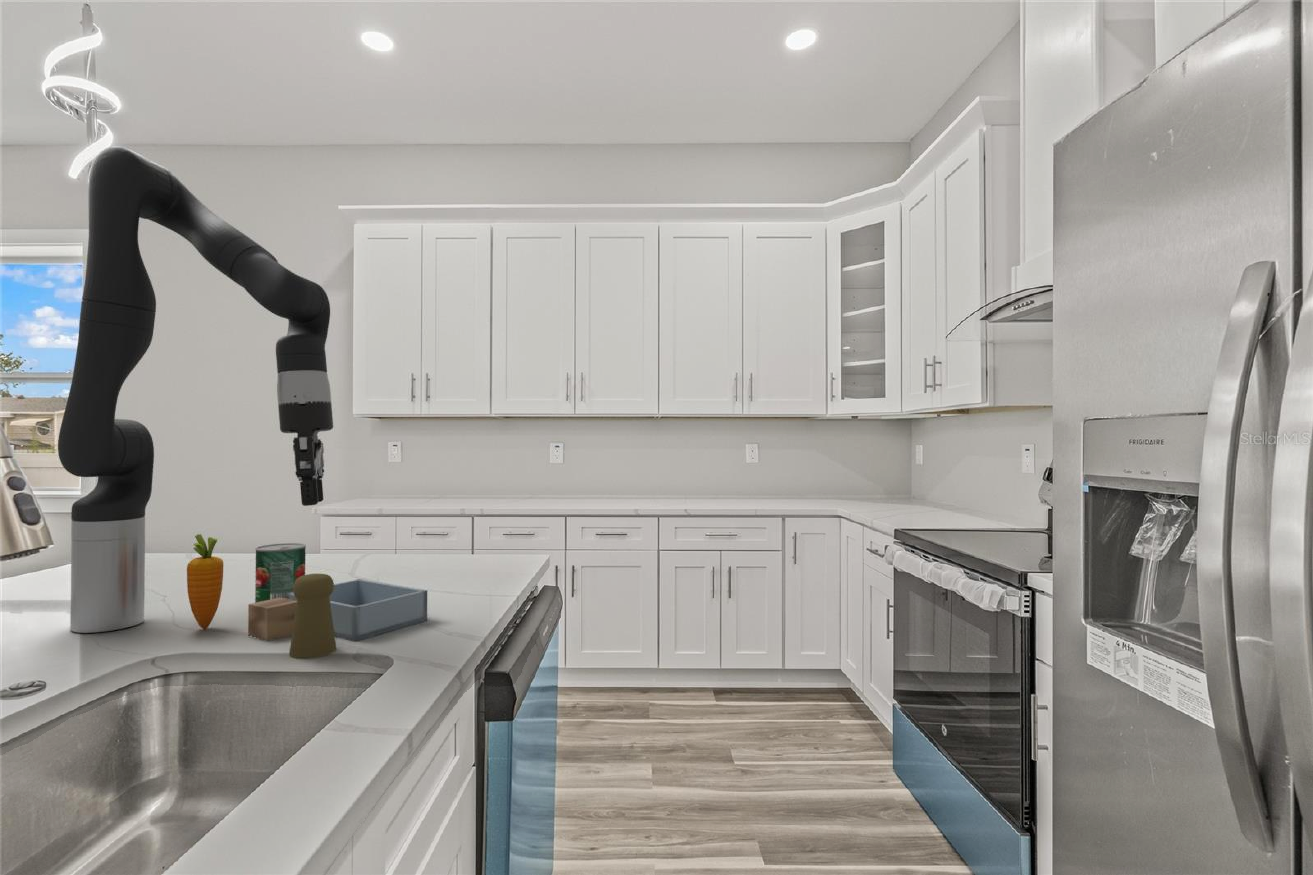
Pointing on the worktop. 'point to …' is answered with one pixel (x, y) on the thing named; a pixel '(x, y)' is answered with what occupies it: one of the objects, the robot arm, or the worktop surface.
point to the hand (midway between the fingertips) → (313, 503)
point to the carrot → (204, 582)
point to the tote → (373, 608)
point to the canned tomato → (278, 569)
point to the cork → (313, 617)
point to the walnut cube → (271, 618)
